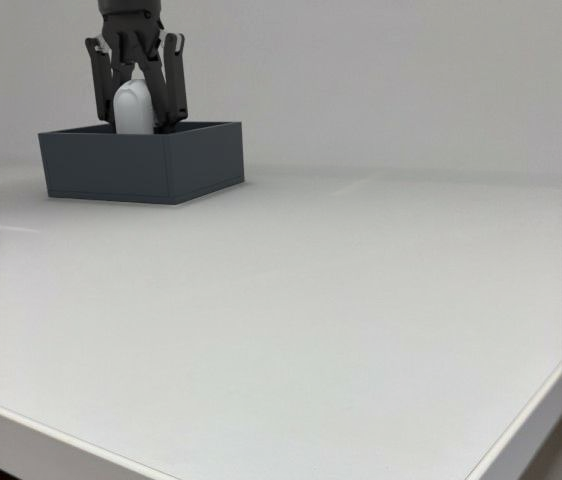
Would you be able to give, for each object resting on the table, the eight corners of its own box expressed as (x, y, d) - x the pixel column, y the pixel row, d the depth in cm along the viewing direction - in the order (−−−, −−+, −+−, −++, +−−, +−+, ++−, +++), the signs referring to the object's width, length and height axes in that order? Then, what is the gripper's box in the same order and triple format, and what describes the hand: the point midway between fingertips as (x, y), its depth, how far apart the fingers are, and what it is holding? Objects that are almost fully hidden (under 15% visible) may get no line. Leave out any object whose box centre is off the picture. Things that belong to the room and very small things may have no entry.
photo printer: (147, 173, 97) (138, 78, 91) (176, 173, 96) (168, 77, 91) (118, 186, 87) (105, 80, 82) (149, 186, 87) (138, 79, 81)
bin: (48, 196, 89) (37, 133, 86) (130, 175, 103) (123, 120, 100) (175, 204, 81) (168, 135, 78) (244, 181, 95) (241, 121, 92)
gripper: (208, -26, 81) (221, 175, 91) (87, -15, 89) (112, 171, 98) (173, -32, 75) (191, 185, 85) (46, -19, 82) (77, 179, 92)
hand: (148, 177), depth 92 cm, fingers closed on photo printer, 5 cm apart
